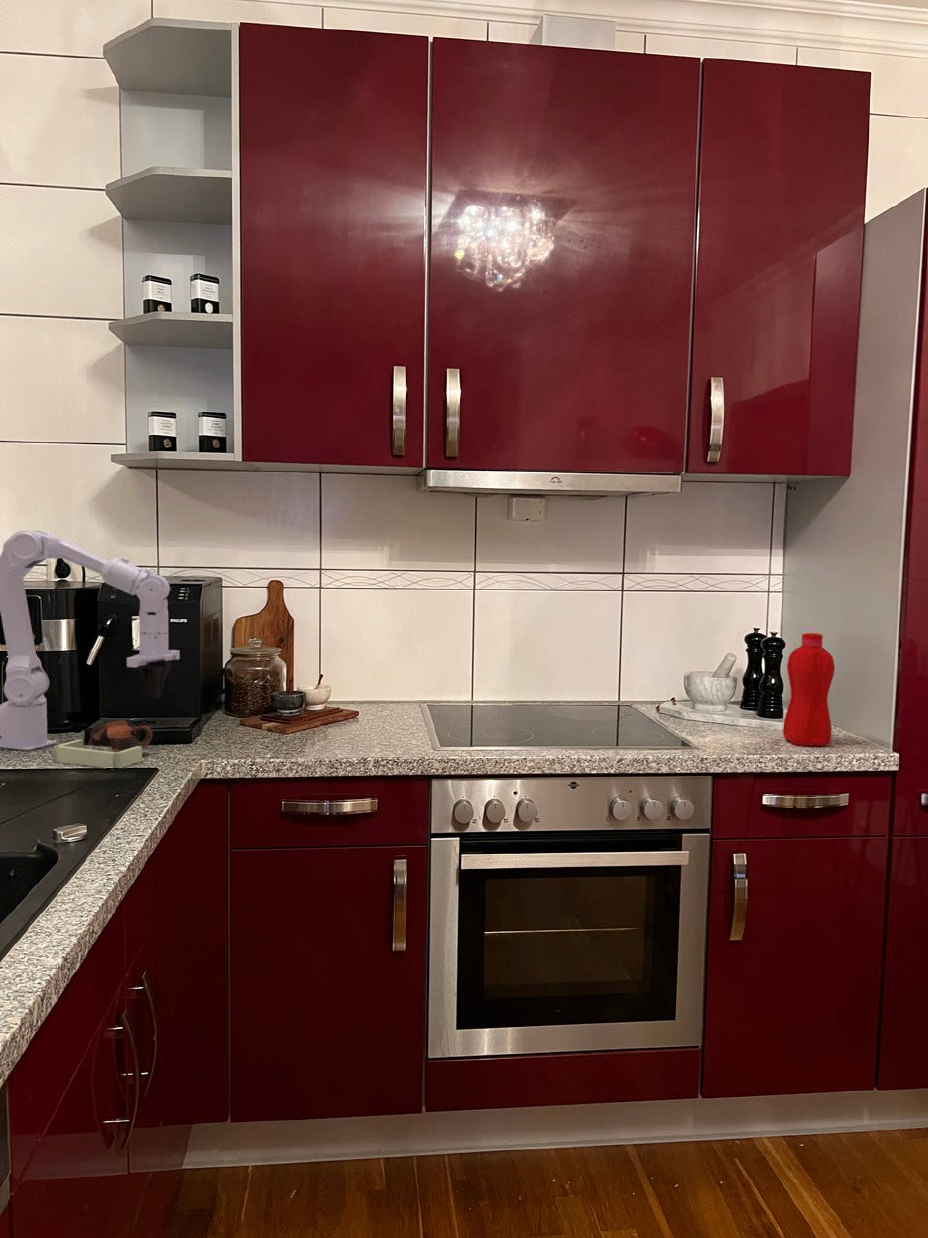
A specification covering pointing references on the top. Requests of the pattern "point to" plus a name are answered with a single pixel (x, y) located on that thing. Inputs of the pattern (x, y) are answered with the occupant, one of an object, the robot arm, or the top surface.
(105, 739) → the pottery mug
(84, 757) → the tray
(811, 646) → the water bottle
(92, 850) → the top surface
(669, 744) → the top surface
